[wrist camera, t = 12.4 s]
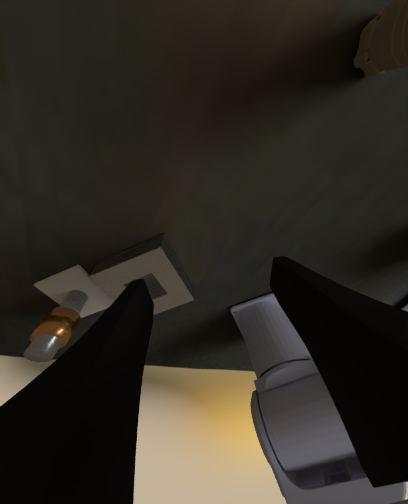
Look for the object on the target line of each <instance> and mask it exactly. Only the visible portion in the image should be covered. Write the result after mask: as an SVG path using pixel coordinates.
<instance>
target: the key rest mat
mask: <svg viewBox="0 0 408 504" xmlns="http://www.w3.org/2000/svg"><path fill="white" fill-rule="evenodd" d="M88 276H89V274H88V273H87V272H86V271H85V270H84V269H83V268H82V267H81V266H80V265H76V266H74V267H72V268H69V269H67V270H64V271H62V272H60V273H57V274H55V275H53V276H50V277H48V278H46V279H43V280H41V281H38V282H36V283H35V284H34V286H35V287H36V288H38V289H39V290H41V291H42V292H43V293H45V294H46V295H47V296H49V297H50V298H51V299H53V300H54V301H55V302H57V303H58V304H59V305H60V304H61V303H62V301H63V300H64V299H65V297H66V296H67V295H68V293H69V292H70V291H73V290H79V291H82V292H84V293H86V294H87V296H88V300H87V302H86V303H85V305H84V307H83V308H82V310H81V312H80V313H79V315H80V317H81V318H82V317H85V316H88V315H90V314H93V313H96V312H98V311H101V310H103V309H106V308H109V307H110V306H111V304H112V303H113V302H114V301H113V300H112V299H111V298H110V297H109V296H108V295H107V294H106V293H105V292H104V291H102V290H101V289H100V288H99V287H98V286H97V285H96V284H95V283H94V282H93V281H92V280H91V279H90V278H89V277H88Z"/></svg>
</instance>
